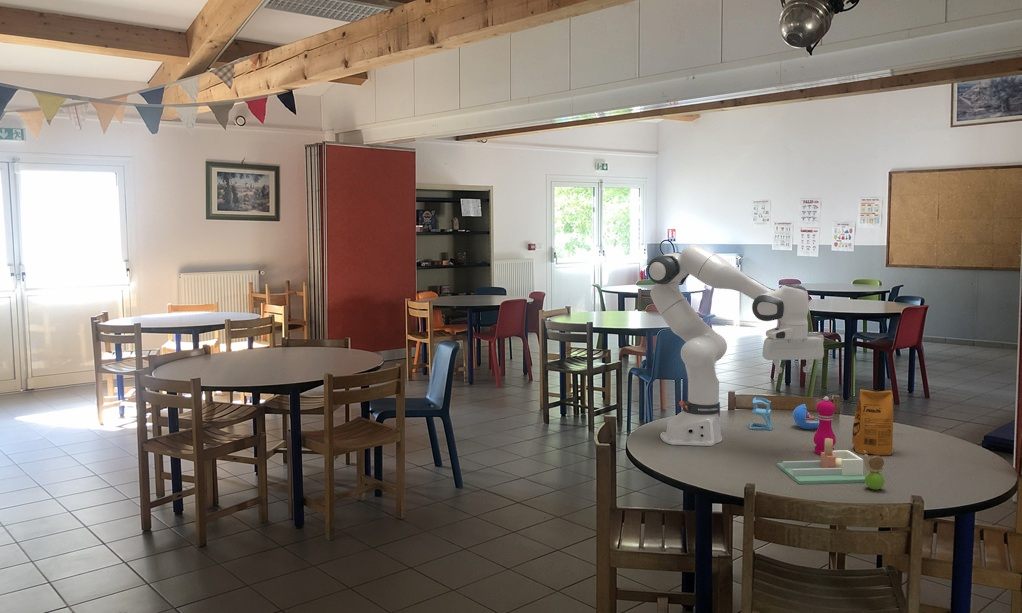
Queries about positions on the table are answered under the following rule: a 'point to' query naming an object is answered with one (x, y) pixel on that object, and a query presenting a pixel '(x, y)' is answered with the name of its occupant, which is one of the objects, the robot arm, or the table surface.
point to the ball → (838, 463)
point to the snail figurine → (874, 472)
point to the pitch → (826, 470)
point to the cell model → (805, 418)
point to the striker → (828, 455)
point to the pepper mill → (824, 424)
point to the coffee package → (873, 423)
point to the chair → (762, 414)
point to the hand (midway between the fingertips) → (792, 372)
